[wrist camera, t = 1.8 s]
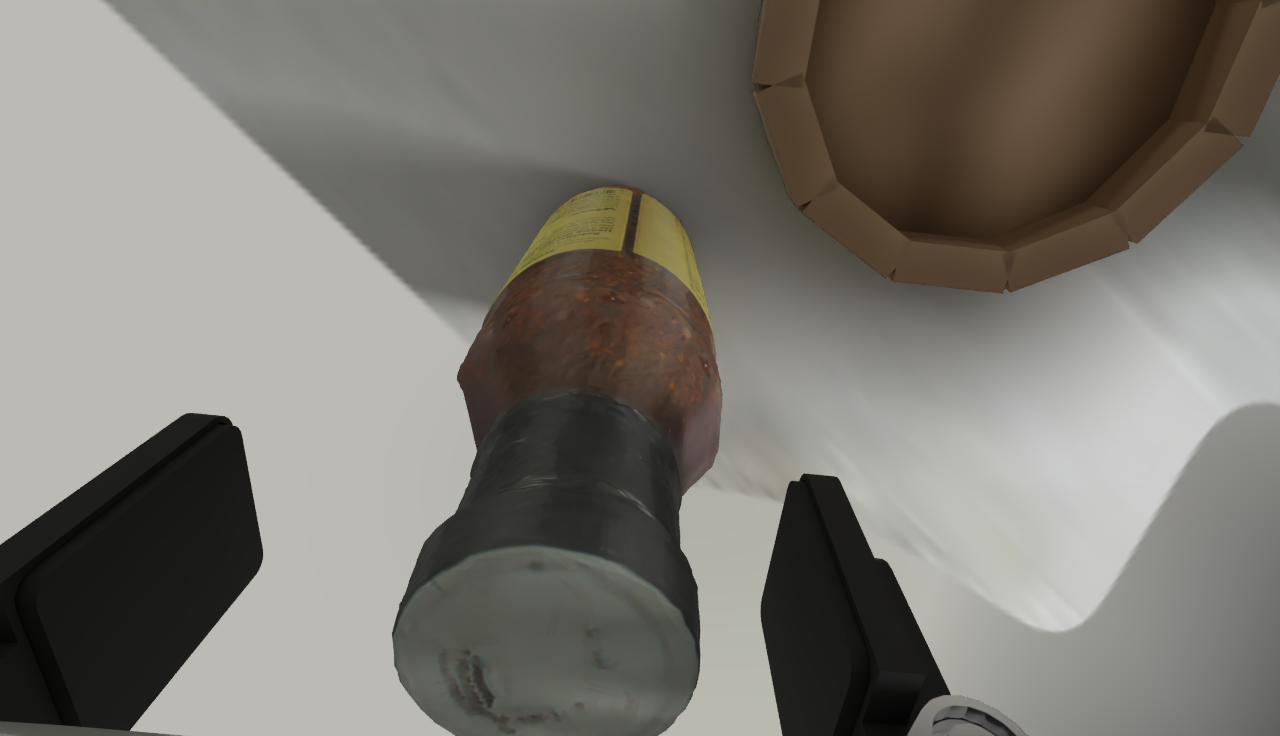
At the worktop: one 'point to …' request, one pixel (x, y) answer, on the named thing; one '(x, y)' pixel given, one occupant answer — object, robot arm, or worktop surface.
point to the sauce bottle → (574, 490)
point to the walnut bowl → (1005, 123)
